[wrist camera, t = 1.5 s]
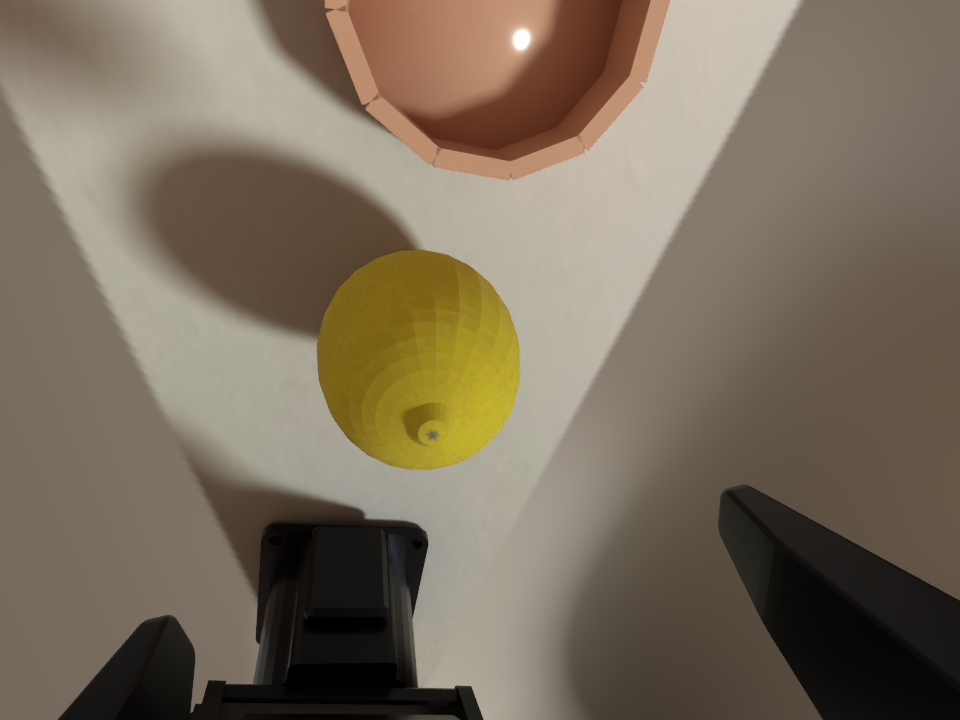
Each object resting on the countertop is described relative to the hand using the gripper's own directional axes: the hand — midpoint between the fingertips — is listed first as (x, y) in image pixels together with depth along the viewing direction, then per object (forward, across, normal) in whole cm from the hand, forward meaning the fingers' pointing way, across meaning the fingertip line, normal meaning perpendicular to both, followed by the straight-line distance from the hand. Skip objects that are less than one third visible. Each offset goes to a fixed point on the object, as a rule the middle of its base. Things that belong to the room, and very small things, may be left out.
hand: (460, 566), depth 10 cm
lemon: (+12, 0, 0) cm, 12 cm away
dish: (+12, -4, -8) cm, 15 cm away
